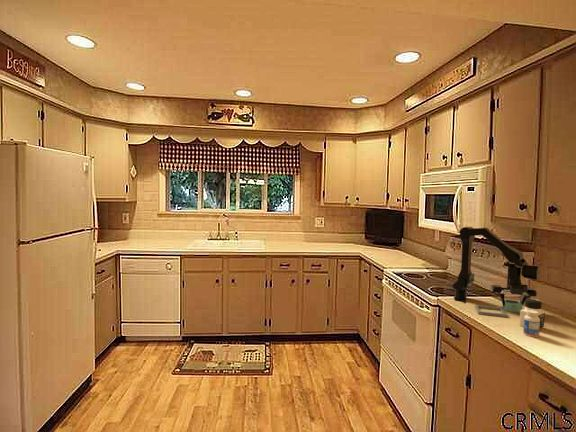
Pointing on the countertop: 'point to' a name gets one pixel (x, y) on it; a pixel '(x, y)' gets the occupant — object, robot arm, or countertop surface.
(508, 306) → the ring
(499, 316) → the tray
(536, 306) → the labeled white jar
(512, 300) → the brown peg stand
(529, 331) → the pill bottle
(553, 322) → the countertop surface
